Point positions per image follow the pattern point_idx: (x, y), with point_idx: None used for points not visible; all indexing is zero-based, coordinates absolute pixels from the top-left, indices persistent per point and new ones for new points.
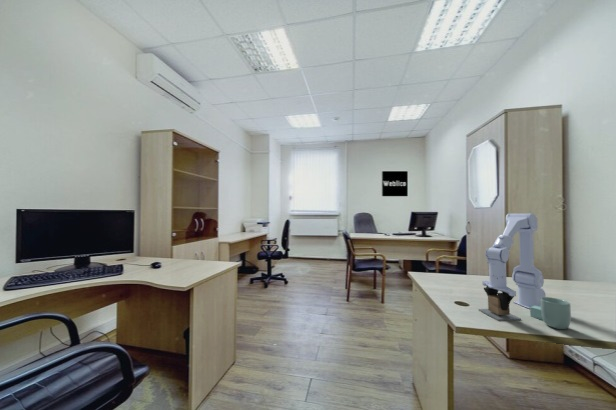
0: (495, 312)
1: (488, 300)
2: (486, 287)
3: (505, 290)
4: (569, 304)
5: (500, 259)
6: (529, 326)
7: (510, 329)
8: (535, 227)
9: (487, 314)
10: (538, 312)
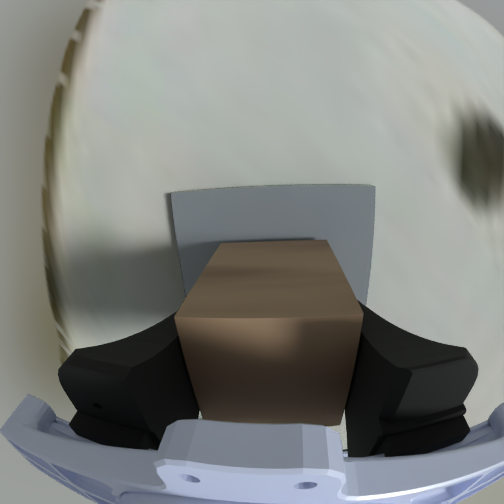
0: (249, 245)
1: (340, 278)
2: (460, 406)
3: (39, 444)
4: None
5: None
6: (125, 320)
7: (74, 184)
8: None
9: (275, 186)
10: None
